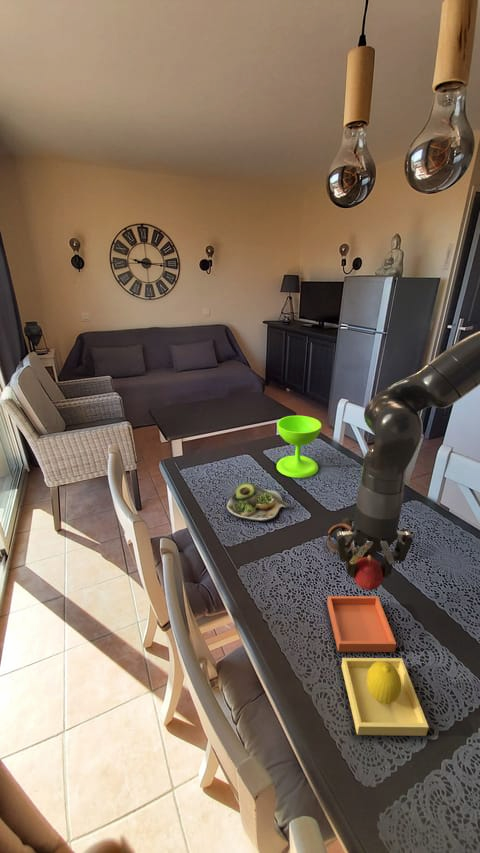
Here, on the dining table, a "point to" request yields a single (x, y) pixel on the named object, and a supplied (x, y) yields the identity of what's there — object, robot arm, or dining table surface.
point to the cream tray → (378, 716)
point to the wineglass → (298, 445)
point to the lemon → (384, 682)
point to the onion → (368, 573)
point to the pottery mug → (344, 527)
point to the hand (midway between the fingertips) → (367, 574)
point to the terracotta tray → (360, 624)
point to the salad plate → (254, 503)
